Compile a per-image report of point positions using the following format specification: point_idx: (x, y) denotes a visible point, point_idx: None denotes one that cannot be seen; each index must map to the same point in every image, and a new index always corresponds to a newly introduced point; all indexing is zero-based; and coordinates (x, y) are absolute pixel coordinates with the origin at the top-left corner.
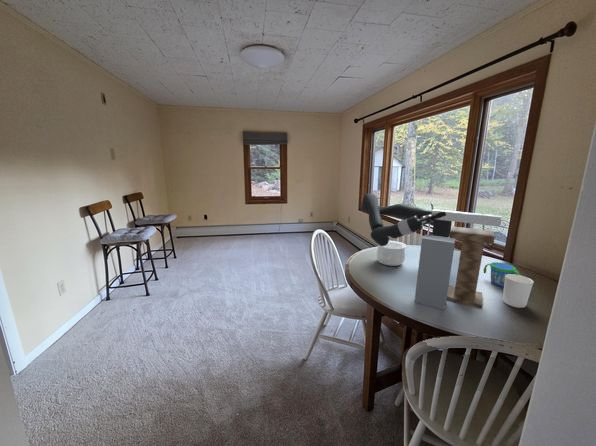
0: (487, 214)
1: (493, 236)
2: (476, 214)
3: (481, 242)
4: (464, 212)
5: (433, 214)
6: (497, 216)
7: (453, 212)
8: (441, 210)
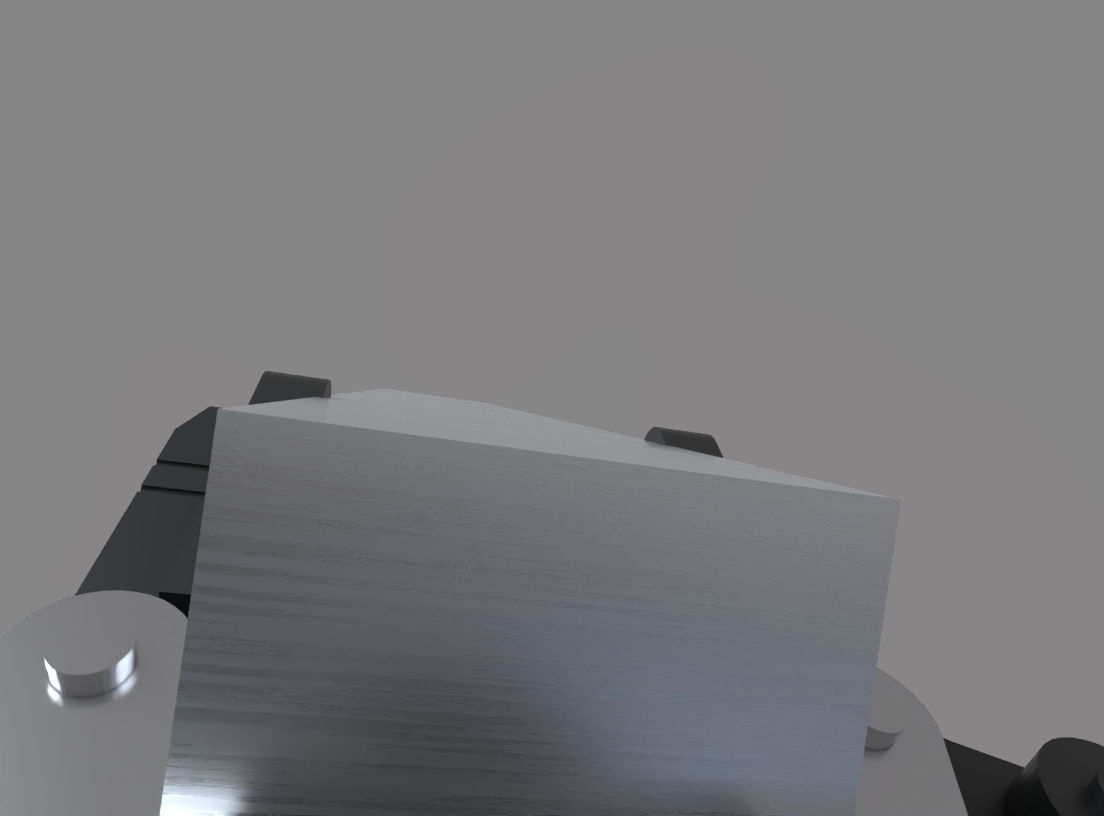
0: (381, 389)
1: None
2: (490, 406)
3: None
4: (395, 395)
5: (877, 731)
6: (465, 400)
7: (581, 425)
8: (442, 417)
